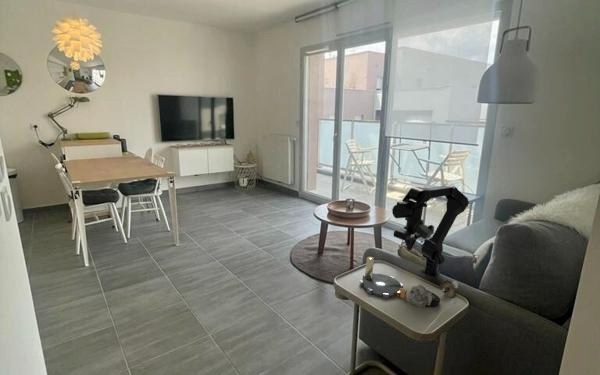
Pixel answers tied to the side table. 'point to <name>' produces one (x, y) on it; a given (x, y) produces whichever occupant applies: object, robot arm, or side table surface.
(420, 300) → the grey rock
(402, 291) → the index pointer
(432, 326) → the side table surface
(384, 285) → the grey base with rod
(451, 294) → the eagle figurine
